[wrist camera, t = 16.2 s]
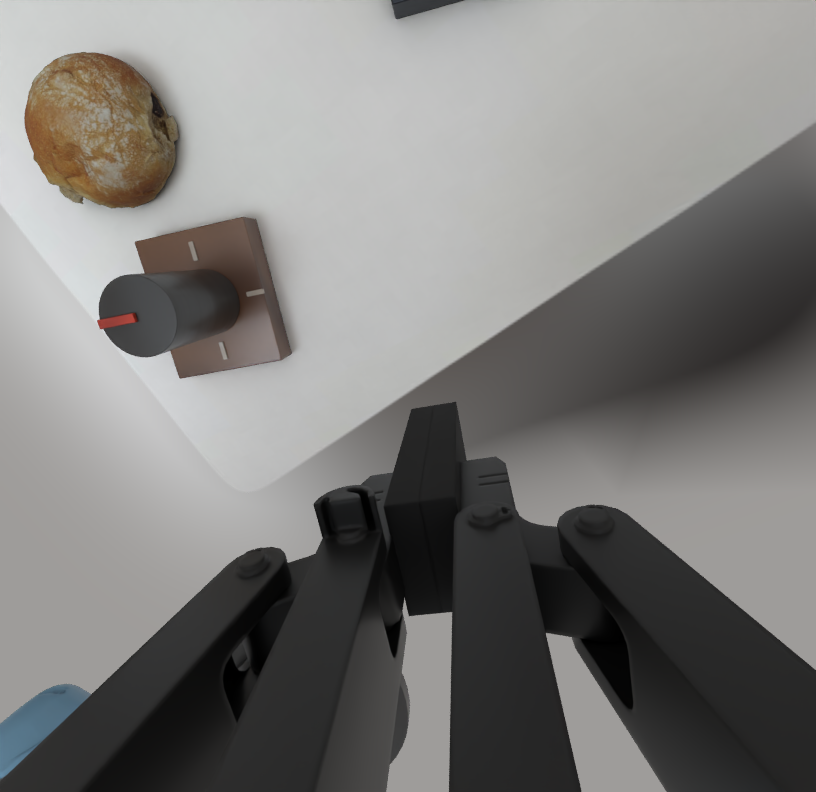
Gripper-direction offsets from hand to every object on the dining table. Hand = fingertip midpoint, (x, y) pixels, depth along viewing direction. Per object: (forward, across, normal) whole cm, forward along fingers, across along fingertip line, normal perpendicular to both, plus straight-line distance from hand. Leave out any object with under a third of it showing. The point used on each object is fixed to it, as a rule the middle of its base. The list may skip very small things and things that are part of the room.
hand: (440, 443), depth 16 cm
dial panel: (+24, -18, +6) cm, 31 cm away
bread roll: (+25, -23, +19) cm, 39 cm away
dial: (+22, -18, +6) cm, 29 cm away
